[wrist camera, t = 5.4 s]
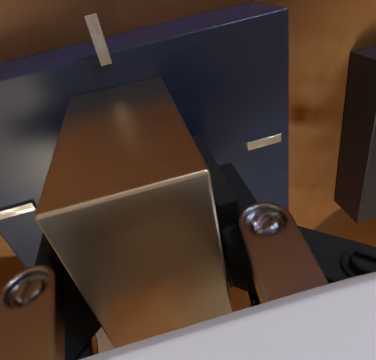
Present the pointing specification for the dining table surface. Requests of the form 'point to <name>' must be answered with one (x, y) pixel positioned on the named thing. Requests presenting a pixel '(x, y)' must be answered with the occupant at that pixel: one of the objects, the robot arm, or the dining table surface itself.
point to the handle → (135, 213)
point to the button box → (359, 139)
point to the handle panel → (178, 88)
